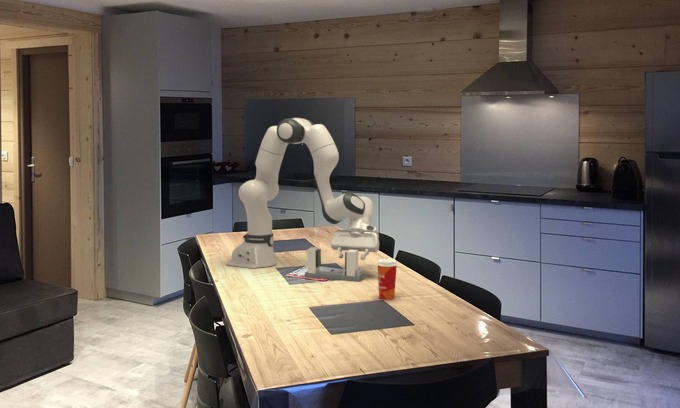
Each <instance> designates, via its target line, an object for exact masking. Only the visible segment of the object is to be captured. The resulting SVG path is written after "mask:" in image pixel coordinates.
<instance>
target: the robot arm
mask: <svg viewBox="0 0 680 408" xmlns="http://www.w3.org/2000/svg"><path fill="white" fill-rule="evenodd" d="M302 143H303V144H305V145H306V146H307V148H308V149H309V150H308V151H310V155H311V157H312V160H313V178H314V183H315V186H316V189H317V193H318V197H319V199H320V201H319V202H320V205H321V212H322V216H323V218H324V219H325V221H326V222H328V223H330V224H332V225H337V224H339V223H341V222H343V221H344V220H346V219H349V224H348V227H347V229H338V230H335V231H334V232H333V234H332V238H331V241H330V247H331V248H332V250H335V251H338V259H343V258H344V253H343V251H346V252H347V251H348V250H350V249H351V250H358V252H362V253H363V254H360V260H361V261H364V260H365V259H366V257H367V256H368V255H369V254H370V253H377V252H378V251H379V249H380V239H379V238H380V235H379V230H378V229H377V227H376V226H373V225H371V221H372V219H373V215H374V203H373V201H372V200H371V199H370V198H369V197H367V196H364V195H362V196H358V195H356V194H355V193H353V192H348V191H347V192H345V193H343V194H341V195H339V196H338V197H336V198H334V195H333V192H332V187H331V184H330V177H331V174H332V172H333V170H334V169H335V168H336V166H337V165H338V162H339V160H340V159H339V158H340V155H339V151H338V148H337V145H336V143H335V141H334V139H333V137H332V136H331V133H330V132H329V130H328V129H327V128H326V126H325V125H324V124H322V123H320V124H319V123H317V124H314V123H313V122H312V121H311V120H309V119H307V118H301V117H293V118H285V119H283V120H281V121H279V123H278V125H271V126H270V127H268V128H267V130H266V132H265V134H264V136H263V138H262V141H261V143H260V146H259V149H258V152H257V156H256V159H255V167H256V168H255V169H256V171H255V172H256V174H255V178H254V179H250V180H247V181H245V182H243V183H242V185H240V187H239V189H238V197H239V199H240V201H241V202H242V204H243V206H244V209H245V212H246V221H247V233H246V234H244V235H242V239H243V240H244V241H243V242H241V243H240V244H239V245H238V246H237V247H236V248H234V249H233V250H232V253H231V257H230V258H231V259H229V260H227V261H226V263H225V264H226V266H231V267H239V268H245V269H256V268H257V269H258V268H267V267H272V266H275V265H276V264H277V262H276V261H277V260H276V258H275V254H274V243H275V242H274V240H275V239H274V233H273V217H272V213H270V210H269V207H268V203H267V202H270V201H272V200H274V199H275V198H276V197H277V196H278V194H279V191H280V187H279V173H280V169H281V165H282V162H283V159H284V155H285V152H286V151H287V150H286V149H287V146H288V145H289V144H290V145H291V144H293V145H299V144H302Z"/></svg>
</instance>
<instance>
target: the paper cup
mask: <svg viewBox="0 0 680 408" xmlns="http://www.w3.org/2000/svg"><path fill="white" fill-rule="evenodd" d="M397 262H398V261H397V260H396V259H394V258H382V259H378V260H377V262H376V265H377V282H378V283H377V285H378V297H379V299H380V300H387V301H388V300H393V299H394V298H395V293H396V282H397V281H396V280H397V279H396V278H397V267H398V263H397Z"/></svg>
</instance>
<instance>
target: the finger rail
mask: <svg viewBox="0 0 680 408" xmlns="http://www.w3.org/2000/svg"><path fill="white" fill-rule="evenodd" d="M306 251H307V252H306V253H307V270H306V271H305V272H304V278H306V277H311V278H310V279H319V278H323V279H322V280H334V281H347V282H348V281H349V282H362V281H363V280H364V273H363V269H362V268H360V269H358V271H357V275H356V276H347V270H346V269H345V268H344V269H343V270H342V272H339V271H327V270H326V271H324V270H320V267H321V266H322V253H321V252H322V249H321V248H320V247H316V246H315V247H314V246H311V247H309V248H308V249H307V250H306Z"/></svg>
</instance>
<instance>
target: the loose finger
mask: <svg viewBox="0 0 680 408" xmlns="http://www.w3.org/2000/svg"><path fill="white" fill-rule="evenodd" d="M344 269H346V270H347V276H356V275H357V271H358V270H359V251H358V250H351V249H350V250H348V251H347V250H346V251H345V252H344Z"/></svg>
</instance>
